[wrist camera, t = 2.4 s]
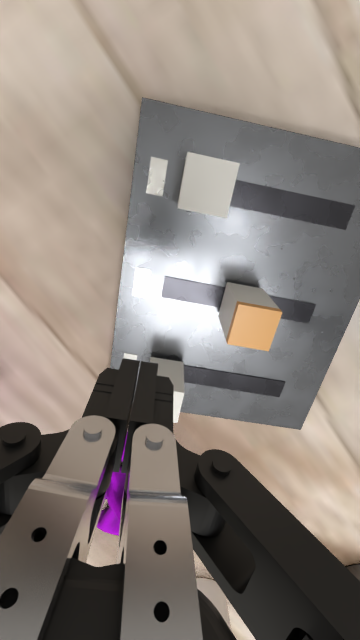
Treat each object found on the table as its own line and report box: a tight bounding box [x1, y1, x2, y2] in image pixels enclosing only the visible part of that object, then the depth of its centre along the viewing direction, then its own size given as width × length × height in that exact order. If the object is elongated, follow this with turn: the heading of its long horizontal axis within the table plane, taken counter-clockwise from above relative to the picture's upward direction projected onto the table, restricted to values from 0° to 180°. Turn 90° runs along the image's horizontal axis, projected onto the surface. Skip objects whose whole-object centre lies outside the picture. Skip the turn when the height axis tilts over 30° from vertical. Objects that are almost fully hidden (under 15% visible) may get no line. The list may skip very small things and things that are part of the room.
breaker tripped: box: [218, 282, 282, 351], centre depth 23 cm, size 3×3×5 cm
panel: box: [110, 97, 360, 430], centre depth 27 cm, size 20×25×2 cm
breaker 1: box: [150, 357, 184, 423], centre depth 26 cm, size 3×3×4 cm
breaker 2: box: [178, 152, 240, 218], centre depth 20 cm, size 3×3×4 cm
